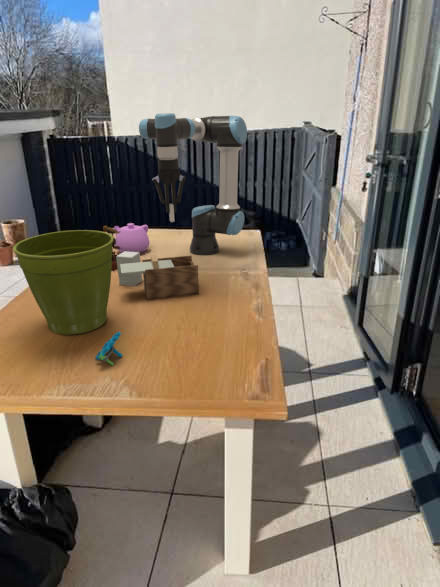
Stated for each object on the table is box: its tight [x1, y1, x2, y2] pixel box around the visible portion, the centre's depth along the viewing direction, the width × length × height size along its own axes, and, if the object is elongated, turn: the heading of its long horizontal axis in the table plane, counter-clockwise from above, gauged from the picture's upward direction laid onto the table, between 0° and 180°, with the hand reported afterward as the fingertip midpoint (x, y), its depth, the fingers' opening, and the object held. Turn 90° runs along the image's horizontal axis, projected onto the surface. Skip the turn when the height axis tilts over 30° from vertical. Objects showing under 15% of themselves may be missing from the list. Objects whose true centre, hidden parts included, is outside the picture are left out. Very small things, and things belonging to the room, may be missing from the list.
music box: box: [102, 225, 120, 272], centre depth 193 cm, size 15×11×20 cm
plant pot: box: [12, 229, 114, 336], centre depth 138 cm, size 30×30×29 cm
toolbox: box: [141, 255, 200, 301], centre depth 167 cm, size 20×13×12 cm, turn 105°
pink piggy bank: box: [113, 222, 150, 254], centre depth 219 cm, size 20×20×15 cm
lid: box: [120, 254, 174, 276], centre depth 163 cm, size 20×11×4 cm, turn 105°
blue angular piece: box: [94, 331, 123, 366], centre depth 122 cm, size 11×6×10 cm
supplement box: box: [116, 251, 143, 287], centre depth 176 cm, size 7×7×13 cm
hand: (172, 220), depth 166 cm, fingers closed
